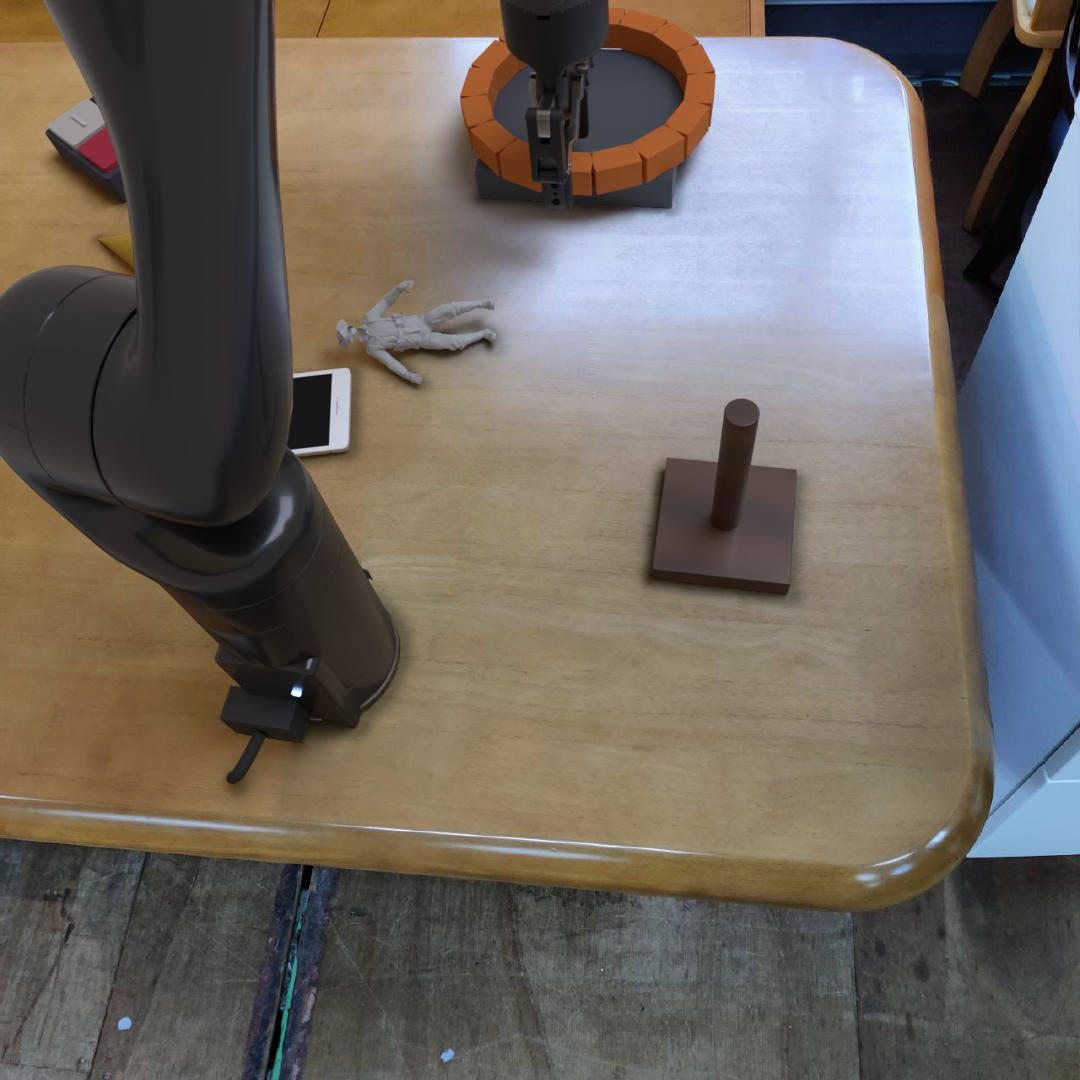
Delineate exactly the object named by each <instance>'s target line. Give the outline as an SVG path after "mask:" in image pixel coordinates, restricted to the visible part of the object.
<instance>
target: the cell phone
mask: <svg viewBox="0 0 1080 1080" xmlns="http://www.w3.org/2000/svg"><path fill="white" fill-rule="evenodd" d="M352 388H353V375H352V373H351V371H350V368H348V367H341V368H331V369H322V370H315V371H306V372H298V373H293V402H292V414H291V422H290V428H289V435H288V441H287V445H286V446H287V447H288V448H289V449H290V450H291V451H292V452H294V453H295V455H296V456H297V457H298V458H300V457H301V458H302V457H309V456H316V455H326V454H336V453H345V452H347V451H348V450H349V449H350V445H351V422H352V421H351V417H352Z"/></svg>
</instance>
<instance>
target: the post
mask: <svg viewBox="0 0 1080 1080" xmlns="http://www.w3.org/2000/svg"><path fill="white" fill-rule="evenodd" d="M760 416H761V411H760V408H759V406H758V405H757V404H756V403H755V402H754V401H753V400H751V399H747V398H742V397H741V398H735V399H732V400H731V401H729V402H728V403H727V404H726V405H725V407H724V410H723V416H722V417H723V418H722V425H721V434H720V442H719V449H718V450H719V451H718V458H717V461H709V460H708V461H707V460H699V459H687V458H676V457H666V461H665V468H664V476H663V484H662V490H661V491H662V492H661V497H660V498H661V499H660V505H659V506H660V507H659V514H658V522H657V528H656V536H655V543H654V551H653V557H652V566H651V579H652V580H658V581H667V582H676V583H684V584H686V583H687V584H693V585H702V586H712V587H721V588H729V589H737V590H746V591H747V590H748V591H755V592H765V593H773V594H781V595H788V593H789V590H790V587H791V582H792V581H791V580H792V579H791V578H792V563H793V561H792V560H793V544H794V529H795V509H796V491H797V476H798V475H797V474H798V473H797V472H798V471H797V469H795V468H794V469H793V468H783V467H773V466H764V465H763V466H762V465H752V461H753V455H754V450H755V449H754V448H755V443H756V437H757V432H758V427H759V421H760Z"/></svg>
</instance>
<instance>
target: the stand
mask: <svg viewBox="0 0 1080 1080" xmlns="http://www.w3.org/2000/svg"><path fill="white" fill-rule="evenodd" d="M592 59H593V61H594V67H593V68H592V73H591V89H589V94H588V112H589V133H588V136H587V137H586V138H584V139H577V140H575V141H574V142H573V143H572V152H596V151H600V150H604V149H609V148H613V147H617V146H622V145H626V144H630V143H633V142H634V141H636V140H638V139H640V138H641V137H643V136H645V135H647V134H648V133H650V132H652V131H654V130H655V129H657V128H659V127H661V126H663V125H664V124H665V123H666V122H667V121H668V119H669V118H670V117H671V116H672V114H673V113H674V112H675V111H676V109H677V108H678V107H679V106H680V104H681V103H682V102H683V100H684V92H683V90H682V88H681V86H680V84H679V82H678V80H677V78H676V76H675V75H674V74H673V73H671V72H670V71H668V70H667V69H666V68H664V67H663V66H662V65H660V64H659V63H658V62H656V61H655V60H654V59H652V58H649V57H646V56H643V55H639V54H636V53H633V52H629V51H626V50H623V49H615V48H601V49H600V50H599V51H598V52H597V53H596V54H595V55H593V56H592ZM531 72H534V73H536V72H535V71H534V70H533V69H532V68H531V67H530V66H528V67H526V68H524V69H522V70H520V71H518V72H517V74H516V75H515V76H514V77H513V78H512V79H511V80H510V81H509V82H508V83H507V84H506V85H505V86H504V87H503V89H502V90H501V91H500V92H499V93H498V95H497V98H496V102H495V105H494V108H493V115H494V119H495V120H496V121H497V122H498V123H499V124H501V125H502V126H503V127H504V128H505V129H506V130H507V131H508V132H510V133H511V134H512V135H513V136H514V137H515V138H516V139H519V140H522V141H525V142H527V143H529V142H528V133H527V123H526V120H525V113H526V112H527V108H528V107H532V98H531V97H530V94H529V84H530V74H531ZM678 170H679V165H677V166H675V167H673V168H672V169H670V170H668V171H667V172H665V173H663V174H661V175H660V176H658V177H656V178H655V179H653V180H651V181H649V182H648V183H647V182H646V181H644V180H643V179H642V185H638V186H634V187H629V188H625V189H621V190H616V191H612V192H608V193H604V194H599V195H597V194H596V191H595V189H594V186H593V191H592V195H573V204H586V205H605V206H607V205H608V206H625V207H646V208H648V207H649V208H667V209H672V208H673V203H674V195H675V189H676V183H677V182H676V181H677V177H678ZM474 176H475V181H476V187H477V191H478V192H477V193H478V198H479V199H486V200H502V201H503V200H504V201H522V202H523V201H525V202H526V201H527V202H543V203H545V200H544V191H542V192H541V193H540V192H538V191H535V190H532V189H529V188H527V187H524V186H521V185H518V184H516V183H513V182H510V181H508V180H505V179H503V178H502V175H500V176H498V175H497V174H496V173H495V172H494V171H492V170H491V169H490V168H489V167H488V166H487V165H486V164H485V163H484V162H483V161H482V160H481V159H480V158H479V157H478V156H477V161H476V164H475V168H474Z"/></svg>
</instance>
